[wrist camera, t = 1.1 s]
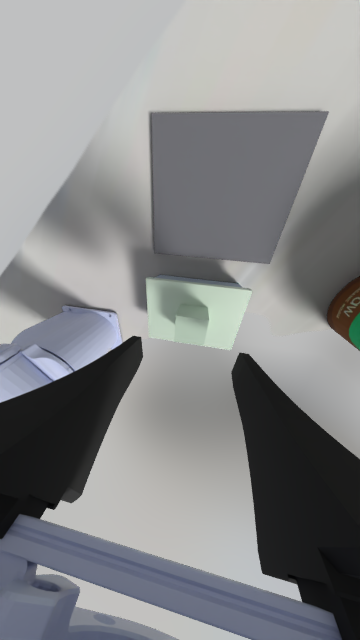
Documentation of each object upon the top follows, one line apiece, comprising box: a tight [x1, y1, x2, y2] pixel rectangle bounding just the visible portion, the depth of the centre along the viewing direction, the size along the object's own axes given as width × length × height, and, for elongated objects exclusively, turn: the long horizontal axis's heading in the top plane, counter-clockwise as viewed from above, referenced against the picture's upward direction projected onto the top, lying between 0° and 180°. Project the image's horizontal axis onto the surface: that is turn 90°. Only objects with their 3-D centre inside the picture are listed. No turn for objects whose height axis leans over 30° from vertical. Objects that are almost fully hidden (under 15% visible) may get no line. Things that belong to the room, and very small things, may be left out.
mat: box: [152, 111, 329, 264], centre depth 12 cm, size 13×10×1 cm
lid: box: [146, 277, 252, 350], centre depth 14 cm, size 11×8×4 cm
